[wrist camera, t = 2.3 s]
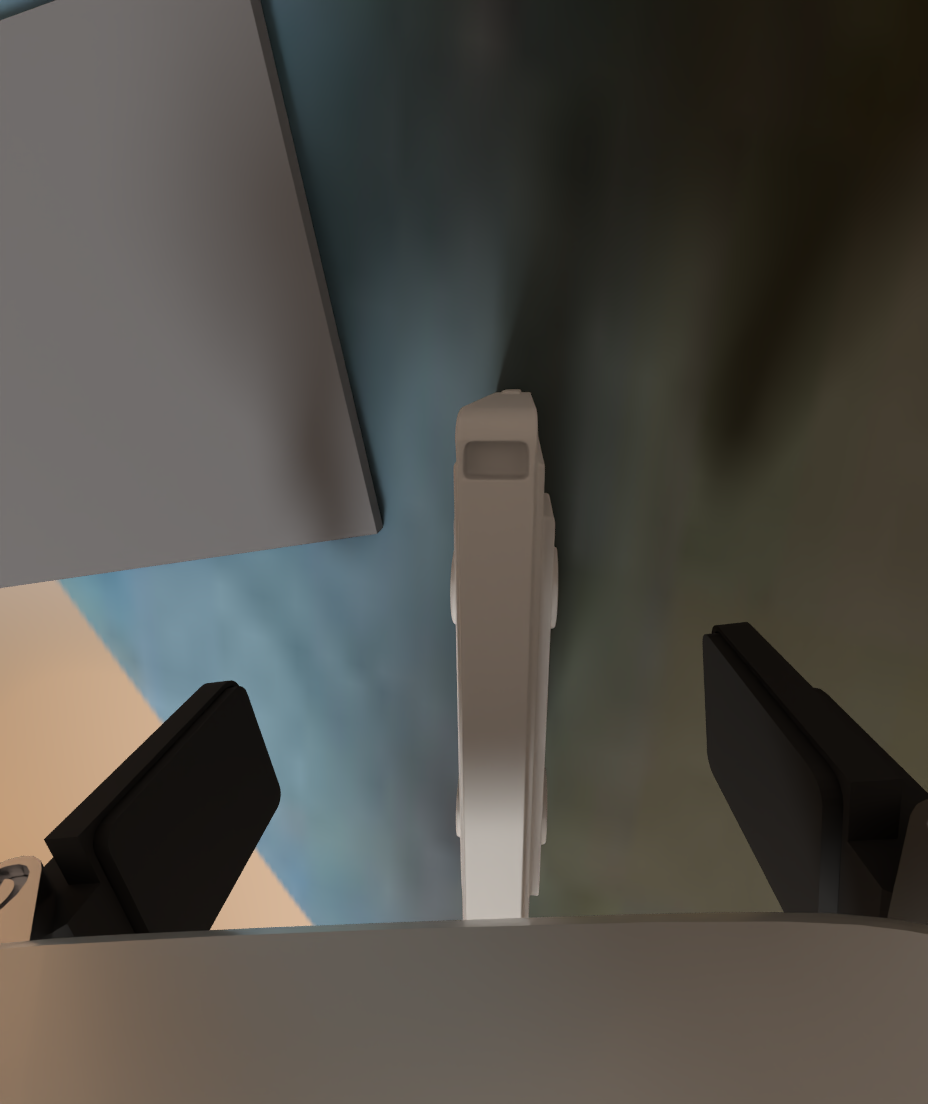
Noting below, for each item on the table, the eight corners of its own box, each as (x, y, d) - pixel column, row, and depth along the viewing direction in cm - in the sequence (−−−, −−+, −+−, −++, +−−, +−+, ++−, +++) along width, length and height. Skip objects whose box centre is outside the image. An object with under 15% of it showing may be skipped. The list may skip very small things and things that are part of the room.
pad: (251, -41, 10) (234, -65, 10) (383, 527, 14) (377, 533, 13) (-205, 119, 12) (-240, 107, 12) (14, 581, 16) (-5, 588, 15)
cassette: (475, 390, 13) (406, 404, 5) (551, 388, 12) (588, 401, 5) (477, 781, 16) (440, 1098, 9) (536, 785, 16) (545, 1112, 9)
